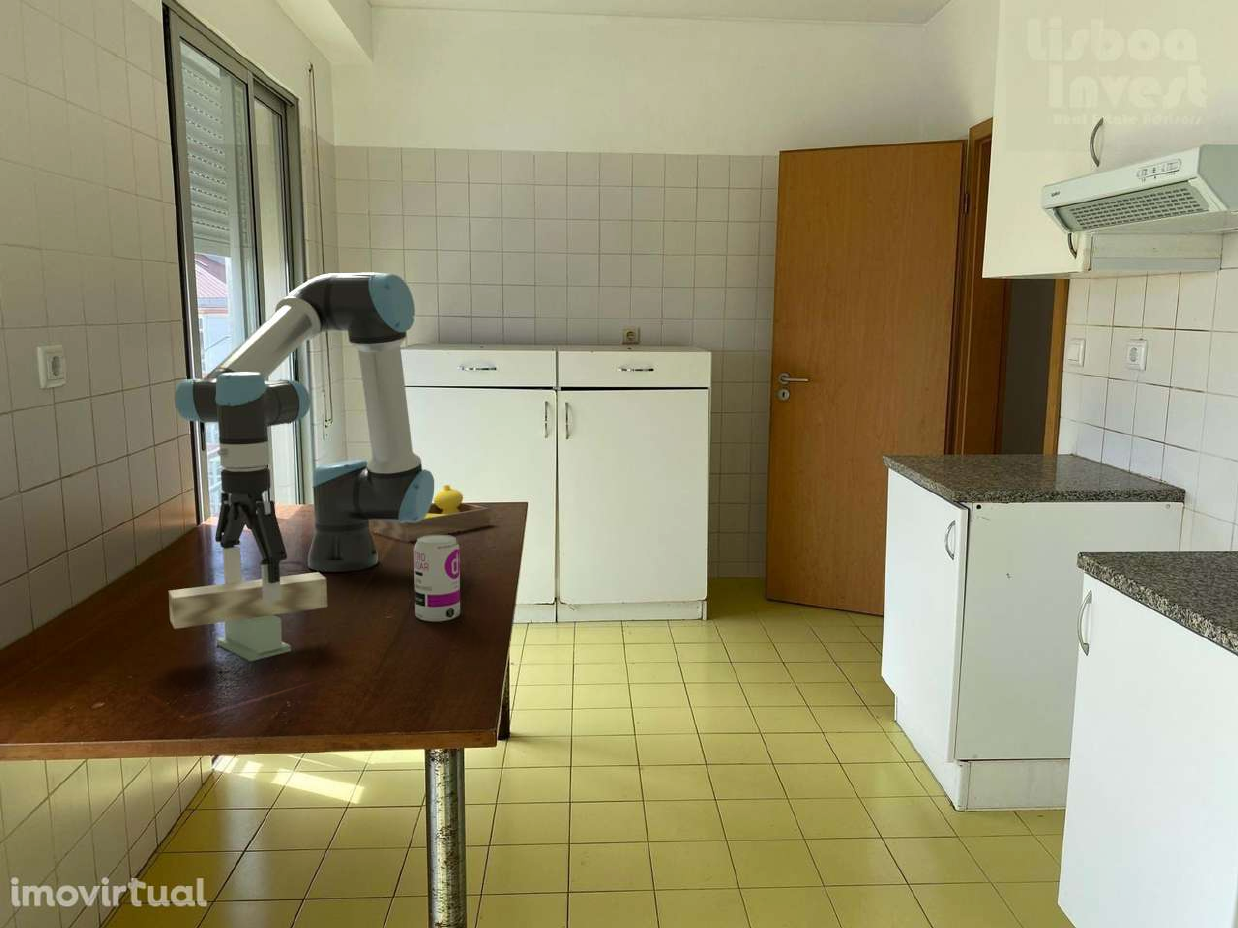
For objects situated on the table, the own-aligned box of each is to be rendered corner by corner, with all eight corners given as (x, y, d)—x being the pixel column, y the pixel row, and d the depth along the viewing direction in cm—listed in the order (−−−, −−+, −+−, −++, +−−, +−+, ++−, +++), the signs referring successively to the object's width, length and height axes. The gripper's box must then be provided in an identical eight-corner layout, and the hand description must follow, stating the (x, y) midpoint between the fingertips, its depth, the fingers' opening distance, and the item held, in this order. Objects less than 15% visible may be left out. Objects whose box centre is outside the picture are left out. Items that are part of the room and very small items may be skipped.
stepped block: (217, 644, 163) (215, 610, 163) (256, 634, 168) (254, 601, 168) (250, 661, 155) (248, 625, 154) (290, 650, 160) (289, 616, 160)
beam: (174, 628, 152) (172, 598, 152) (170, 620, 157) (168, 590, 156) (327, 606, 165) (326, 578, 164) (319, 599, 169) (318, 572, 169)
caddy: (371, 536, 248) (370, 513, 247) (452, 521, 267) (452, 500, 266) (407, 546, 237) (406, 522, 236) (489, 530, 256) (489, 508, 255)
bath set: (423, 542, 245) (416, 501, 243) (395, 540, 251) (388, 500, 249) (476, 521, 261) (470, 482, 259) (449, 519, 267) (443, 482, 265)
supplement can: (467, 613, 182) (466, 536, 180) (446, 625, 175) (444, 545, 172) (430, 609, 185) (428, 532, 183) (407, 621, 177) (405, 541, 175)
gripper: (189, 461, 163) (197, 582, 167) (260, 479, 146) (267, 613, 150) (232, 456, 169) (239, 574, 172) (305, 473, 152) (311, 603, 155)
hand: (252, 592), depth 161 cm, fingers open, 13 cm apart
